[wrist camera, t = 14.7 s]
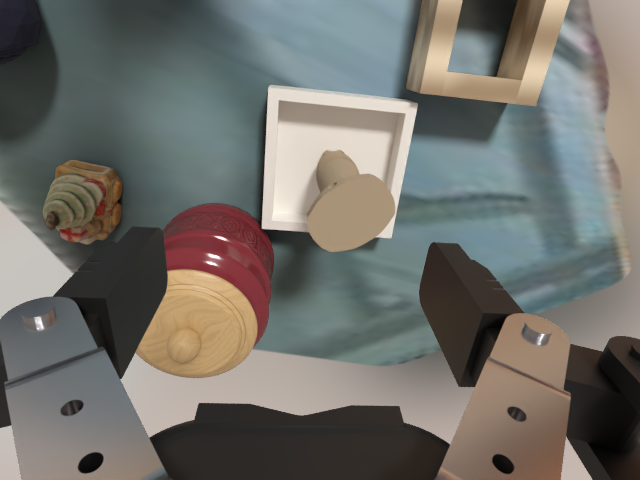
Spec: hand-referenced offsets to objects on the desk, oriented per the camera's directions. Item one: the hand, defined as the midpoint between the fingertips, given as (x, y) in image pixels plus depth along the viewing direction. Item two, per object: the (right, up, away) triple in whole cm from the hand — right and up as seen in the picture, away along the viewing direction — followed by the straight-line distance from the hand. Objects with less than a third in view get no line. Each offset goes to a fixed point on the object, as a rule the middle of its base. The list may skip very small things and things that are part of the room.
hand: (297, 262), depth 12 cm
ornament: (-23, +6, +31) cm, 39 cm away
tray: (+2, +9, +31) cm, 32 cm away
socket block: (+15, +21, +26) cm, 37 cm away
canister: (-11, -1, +35) cm, 36 cm away
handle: (+2, +9, +30) cm, 31 cm away
